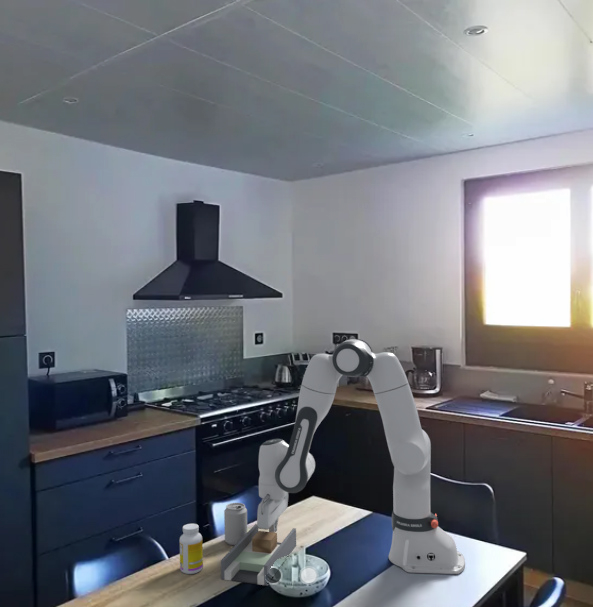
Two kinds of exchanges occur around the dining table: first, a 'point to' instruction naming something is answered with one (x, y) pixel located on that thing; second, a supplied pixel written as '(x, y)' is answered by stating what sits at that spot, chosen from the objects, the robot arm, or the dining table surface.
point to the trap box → (253, 559)
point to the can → (235, 522)
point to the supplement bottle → (191, 549)
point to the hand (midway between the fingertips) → (273, 532)
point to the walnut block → (264, 542)
